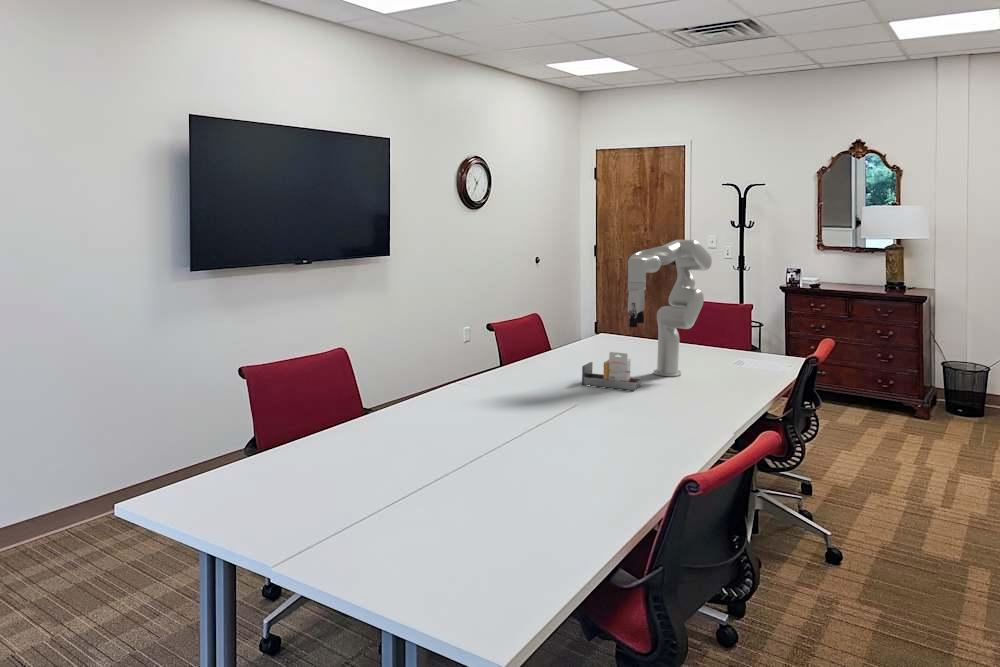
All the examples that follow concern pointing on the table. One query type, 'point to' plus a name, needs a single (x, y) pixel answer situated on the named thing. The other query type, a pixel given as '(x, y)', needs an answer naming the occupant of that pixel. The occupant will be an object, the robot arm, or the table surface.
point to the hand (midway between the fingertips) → (636, 325)
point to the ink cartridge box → (619, 367)
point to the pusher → (606, 370)
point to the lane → (598, 380)
